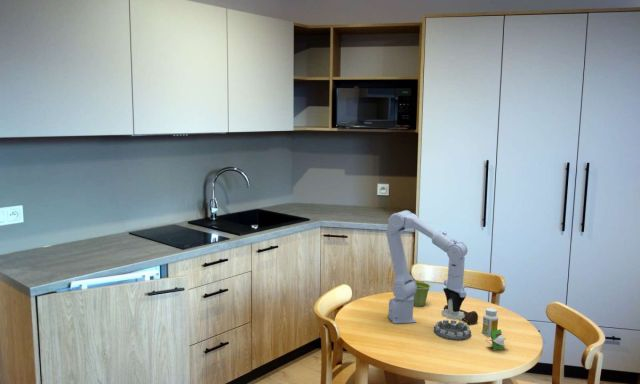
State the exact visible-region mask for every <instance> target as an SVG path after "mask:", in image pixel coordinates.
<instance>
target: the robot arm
mask: <svg viewBox="0 0 640 384" xmlns="http://www.w3.org/2000/svg"><path fill="white" fill-rule="evenodd" d="M387 222H388V224H387V228H386V232H385V233H386V235H385V236H386V238H387V243H388V250H389V252H390V257H391V261H392V266H393V270H394V274H395V275H394V280H393V282H392V284H393V290H392V293H393V296H394V297H393V298H390V299H389V300H388V315H387V317H388V319H389V320H390V321H391V322H392V323H393V324H411V323H413V324H414V323H417V321H416V319H415V318H414V305H413V303H414V294H415V293H416V291H417V285H416V283H415V282H416V281H414V277H413V276H412V274H410V272H409V268H408V264H407V258H406V255H405V251H404V246H403V245H404V244H403V241H402V236H401V235H402V234H403V232H404V231H405V230H406V229H415V230H416V231H418V232H419V233H421V234H422V235H425V236H426V237H427V238H430V239H431V244H432V245H434V246H436V247H437V248H439V249H440V250H441V251H443V253H444V252H445V253H446V256H447V257H448V268H447V269H448V270H447V279H444V281H443V286H446V287H443V289H442V291H443V293H444V294H445V298H446V305H448V301H449V299H450V298H452V303H453V311H454V312H459V310H461V307H462V304H463V303H464V301H465V299H466V298H467V292H466V290H465V289H466V285H464V275H465V258H466V257H465V256H466V255H467V254H468V251H469V250H468V247H467V245H466V244H465V243H464V242H463V241H458V240H457V239H455V238H452V237H451V236H450V235H448V233H447V232H446V231H441V230H439V231H436V230H435V229H434V228H432V227H431V226H430V225H429V224H427V223H426V222H425V221H423V220H422V219H420V218H419V217H418V216H417V215H416V214H415V213H412V212H411V211H410V210H406V209H405V210H402V211H399V212H394V213H392V214H391V215H390V216H389V218H388V219H387Z"/></svg>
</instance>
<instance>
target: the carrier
mask: <svg viewBox="0 0 640 384" xmlns="http://www.w3.org/2000/svg"><path fill="white" fill-rule="evenodd" d="M469 326H470V325H469V324H465V323H464V322H463V321H458V322H457V320H453V319H450V320H449V319H444V320H439V321H436V322H435V325H434V326H433V333H434V334H435V335H436V336H437V337H439V338H442V339H446V340H449V341H450V340H451V341H466V340H469V339H470V338H471V337H472V331H471V330H470V328H471V327H469Z"/></svg>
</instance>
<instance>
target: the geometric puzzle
mask: <svg viewBox="0 0 640 384" xmlns="http://www.w3.org/2000/svg"><path fill="white" fill-rule="evenodd" d="M490 332H491V336H490V335H489V336H488V337H491V338H490V339H488V338H487V339H485V342H486V343H489V342H491V343H490V346H492V347H491V349H492V350H493V351H495V350H504V349H505V338H504V335H503V331H502V329H497V330H492V331H490Z"/></svg>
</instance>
